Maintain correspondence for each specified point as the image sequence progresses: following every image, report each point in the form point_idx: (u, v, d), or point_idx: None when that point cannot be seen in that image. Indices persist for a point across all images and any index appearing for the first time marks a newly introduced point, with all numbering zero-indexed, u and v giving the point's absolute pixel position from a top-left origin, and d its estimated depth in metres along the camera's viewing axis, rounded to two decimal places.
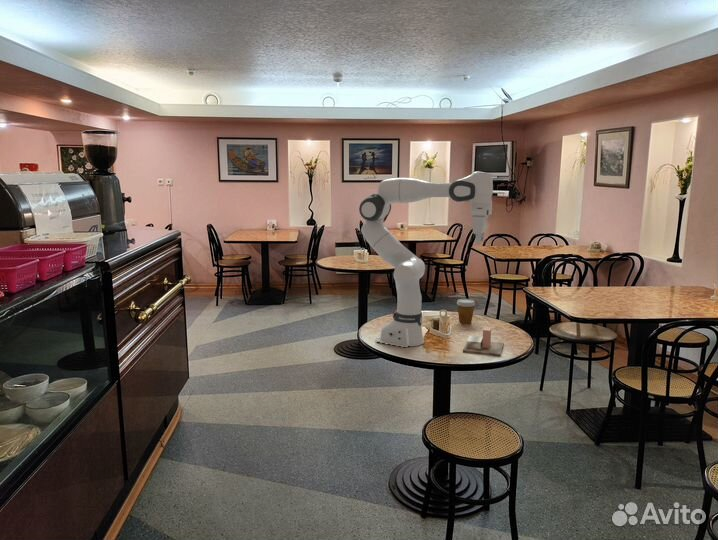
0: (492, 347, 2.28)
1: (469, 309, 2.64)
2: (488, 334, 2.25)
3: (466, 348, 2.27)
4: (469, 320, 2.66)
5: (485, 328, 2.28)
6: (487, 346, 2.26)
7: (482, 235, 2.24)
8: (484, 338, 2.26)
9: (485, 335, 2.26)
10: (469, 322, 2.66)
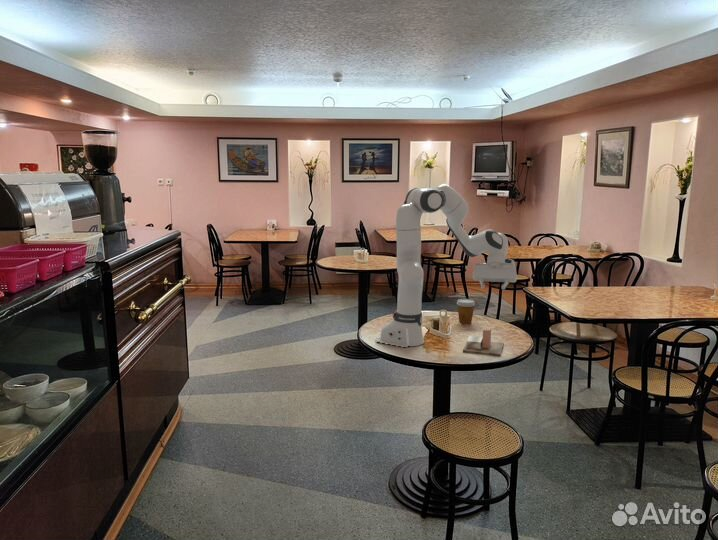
0: (492, 347, 2.28)
1: (469, 309, 2.64)
2: (488, 334, 2.25)
3: (466, 348, 2.27)
4: (469, 320, 2.66)
5: (485, 328, 2.28)
6: (487, 346, 2.26)
7: None
8: (484, 338, 2.26)
9: (485, 335, 2.26)
10: (469, 322, 2.66)
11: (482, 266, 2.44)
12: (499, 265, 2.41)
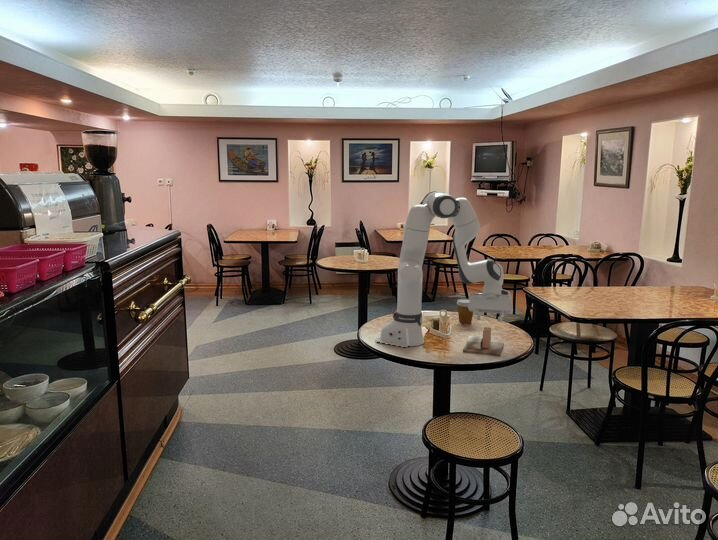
0: (492, 347, 2.28)
1: None
2: (488, 334, 2.25)
3: (466, 348, 2.27)
4: (469, 320, 2.66)
5: (485, 328, 2.28)
6: (487, 346, 2.26)
7: None
8: (484, 338, 2.26)
9: (485, 335, 2.26)
10: (469, 322, 2.66)
11: (478, 296, 2.40)
12: (495, 296, 2.37)
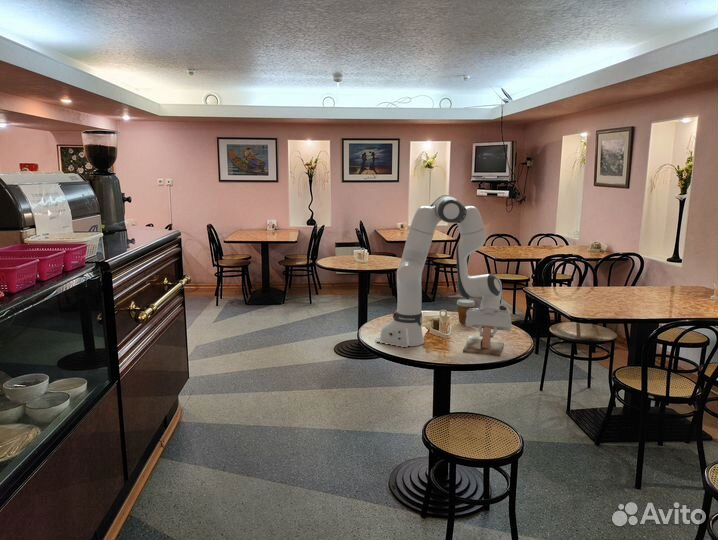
0: (492, 347, 2.28)
1: None
2: (488, 334, 2.25)
3: (466, 348, 2.27)
4: None
5: (485, 328, 2.28)
6: (487, 346, 2.26)
7: (481, 331, 2.31)
8: (484, 338, 2.26)
9: (485, 335, 2.26)
10: None
11: (475, 312, 2.34)
12: (493, 312, 2.32)
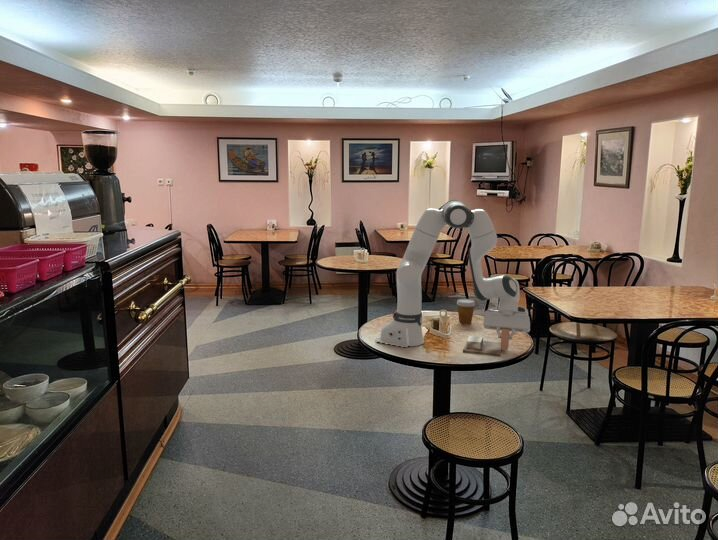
0: (492, 347, 2.28)
1: (469, 309, 2.64)
2: (506, 336, 2.22)
3: (466, 348, 2.27)
4: (469, 320, 2.66)
5: (503, 330, 2.25)
6: (505, 348, 2.23)
7: None
8: (503, 340, 2.23)
9: (503, 337, 2.23)
10: (469, 322, 2.66)
11: (493, 313, 2.32)
12: (511, 313, 2.29)
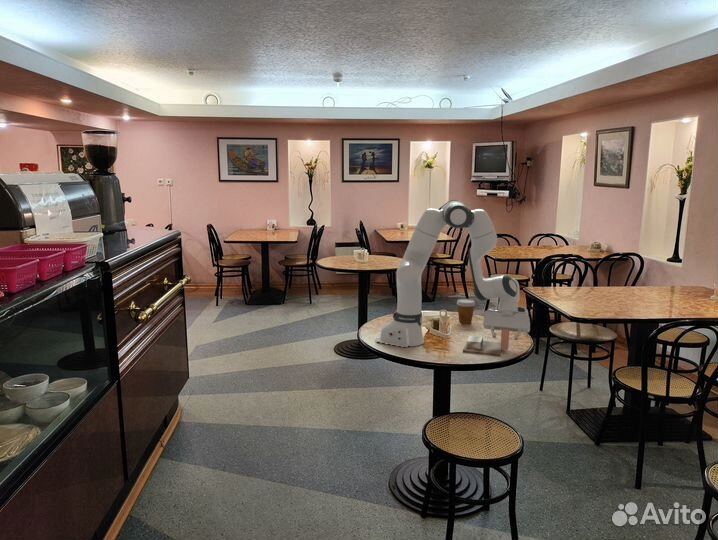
0: (492, 347, 2.28)
1: (469, 309, 2.64)
2: (506, 336, 2.22)
3: (466, 348, 2.27)
4: (469, 320, 2.66)
5: (503, 330, 2.25)
6: (505, 348, 2.23)
7: None
8: (503, 340, 2.23)
9: (503, 337, 2.23)
10: (469, 322, 2.66)
11: (493, 313, 2.32)
12: (511, 313, 2.29)
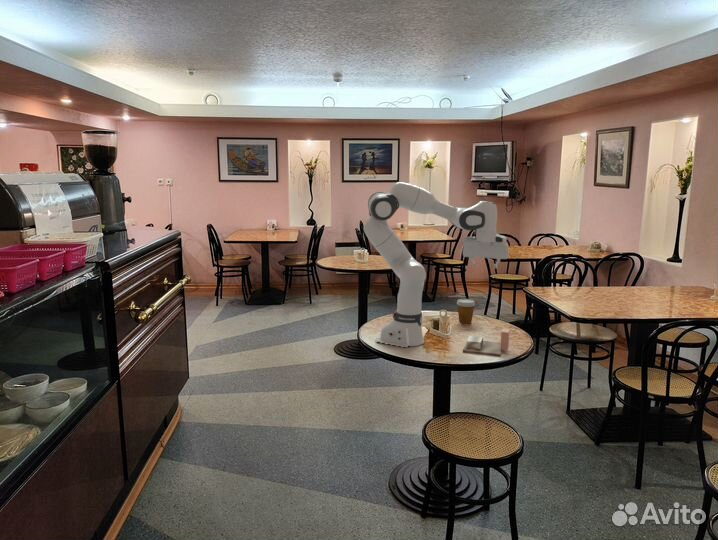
0: (492, 347, 2.28)
1: (469, 309, 2.64)
2: (506, 336, 2.22)
3: (466, 348, 2.27)
4: (469, 320, 2.66)
5: (503, 330, 2.25)
6: (505, 348, 2.23)
7: (473, 261, 2.35)
8: (503, 340, 2.23)
9: (503, 337, 2.23)
10: (469, 322, 2.66)
11: (472, 243, 2.31)
12: (490, 243, 2.28)
